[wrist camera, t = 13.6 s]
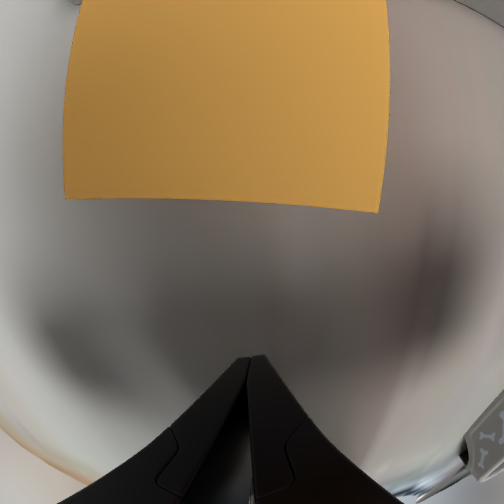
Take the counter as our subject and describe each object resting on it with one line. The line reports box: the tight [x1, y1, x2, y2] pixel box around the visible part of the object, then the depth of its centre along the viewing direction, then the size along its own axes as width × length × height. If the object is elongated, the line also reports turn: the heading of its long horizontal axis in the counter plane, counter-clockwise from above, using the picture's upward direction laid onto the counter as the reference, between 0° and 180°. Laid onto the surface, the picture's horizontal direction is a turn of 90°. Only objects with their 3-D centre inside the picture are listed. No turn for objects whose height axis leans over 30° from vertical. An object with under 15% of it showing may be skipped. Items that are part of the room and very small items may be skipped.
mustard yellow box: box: [63, 0, 390, 213], centre depth 5 cm, size 4×5×4 cm
